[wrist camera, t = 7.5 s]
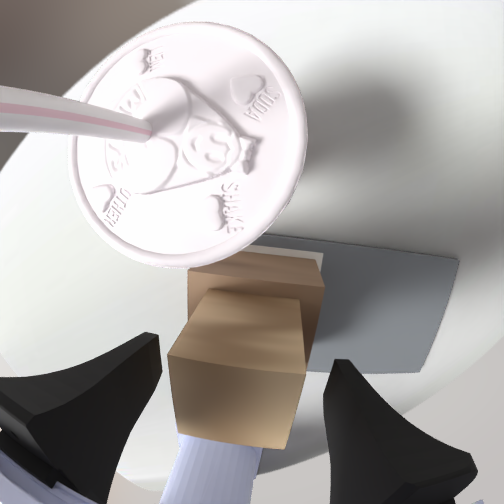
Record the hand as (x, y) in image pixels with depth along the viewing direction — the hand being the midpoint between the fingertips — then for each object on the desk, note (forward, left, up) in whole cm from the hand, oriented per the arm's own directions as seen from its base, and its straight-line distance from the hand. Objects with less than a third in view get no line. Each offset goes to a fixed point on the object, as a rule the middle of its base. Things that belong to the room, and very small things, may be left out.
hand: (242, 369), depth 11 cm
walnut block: (0, 0, -6) cm, 6 cm away
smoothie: (+8, +2, -7) cm, 11 cm away
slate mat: (0, -5, -7) cm, 8 cm away
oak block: (0, 0, -2) cm, 2 cm away
